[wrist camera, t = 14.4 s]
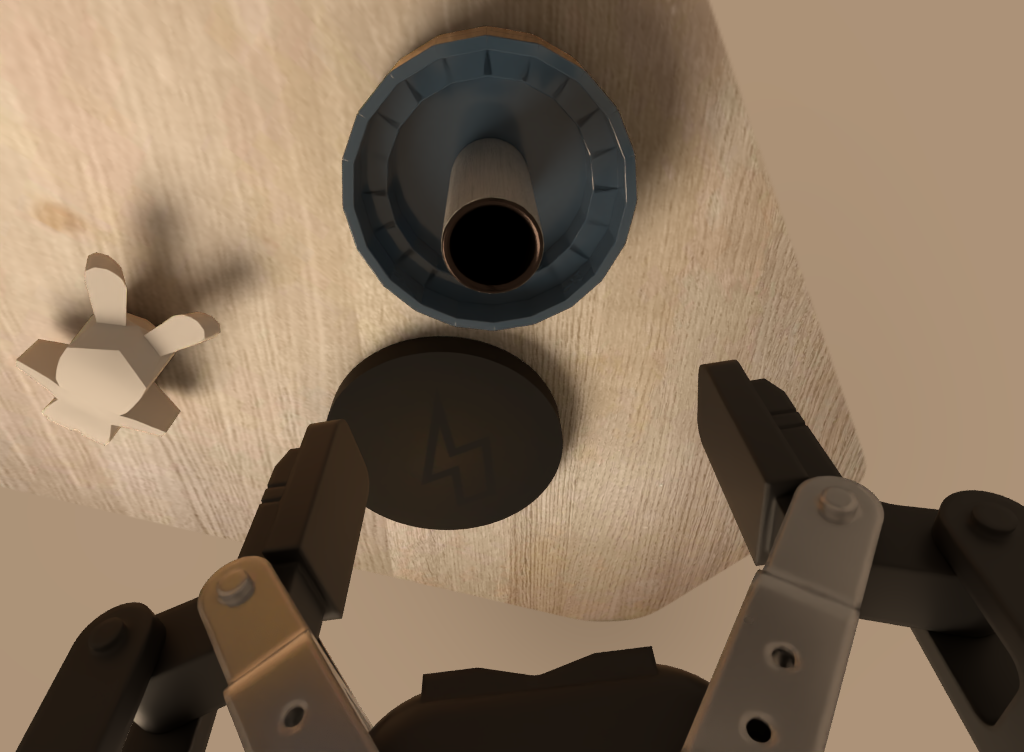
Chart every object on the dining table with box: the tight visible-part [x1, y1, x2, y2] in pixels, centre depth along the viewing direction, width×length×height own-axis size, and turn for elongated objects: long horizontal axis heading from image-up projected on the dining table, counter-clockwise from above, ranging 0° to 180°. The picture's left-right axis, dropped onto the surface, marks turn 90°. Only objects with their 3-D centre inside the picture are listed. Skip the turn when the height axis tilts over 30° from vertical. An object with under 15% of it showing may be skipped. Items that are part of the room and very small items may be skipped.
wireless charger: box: [327, 336, 563, 530], centre depth 45 cm, size 18×18×2 cm
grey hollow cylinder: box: [441, 138, 544, 294], centre depth 30 cm, size 4×4×10 cm
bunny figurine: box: [16, 252, 220, 446], centre depth 38 cm, size 10×5×15 cm
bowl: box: [342, 26, 637, 331], centre depth 33 cm, size 15×15×5 cm
